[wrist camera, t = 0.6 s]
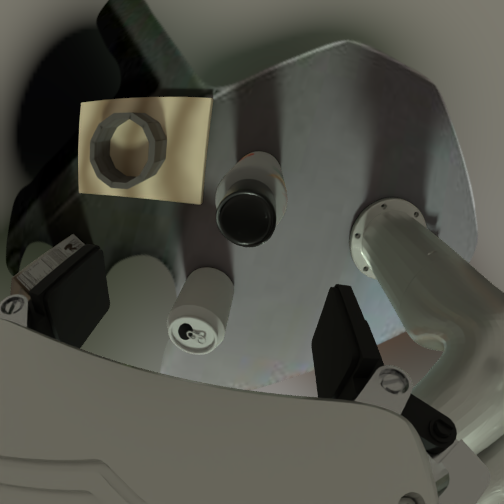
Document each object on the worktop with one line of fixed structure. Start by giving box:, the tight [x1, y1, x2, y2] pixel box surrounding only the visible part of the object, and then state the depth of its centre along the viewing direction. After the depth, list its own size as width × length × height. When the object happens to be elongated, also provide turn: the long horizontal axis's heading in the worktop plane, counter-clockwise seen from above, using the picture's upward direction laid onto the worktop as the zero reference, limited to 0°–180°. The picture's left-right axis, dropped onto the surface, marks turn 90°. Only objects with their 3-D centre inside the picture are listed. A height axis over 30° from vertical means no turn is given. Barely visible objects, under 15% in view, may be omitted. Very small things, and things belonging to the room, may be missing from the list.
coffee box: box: [10, 234, 85, 301], centre depth 36 cm, size 9×6×16 cm
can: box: [167, 267, 234, 354], centre depth 37 cm, size 8×8×12 cm
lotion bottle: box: [215, 151, 287, 247], centre depth 26 cm, size 6×6×20 cm
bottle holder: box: [78, 97, 213, 205], centre depth 32 cm, size 20×14×5 cm
